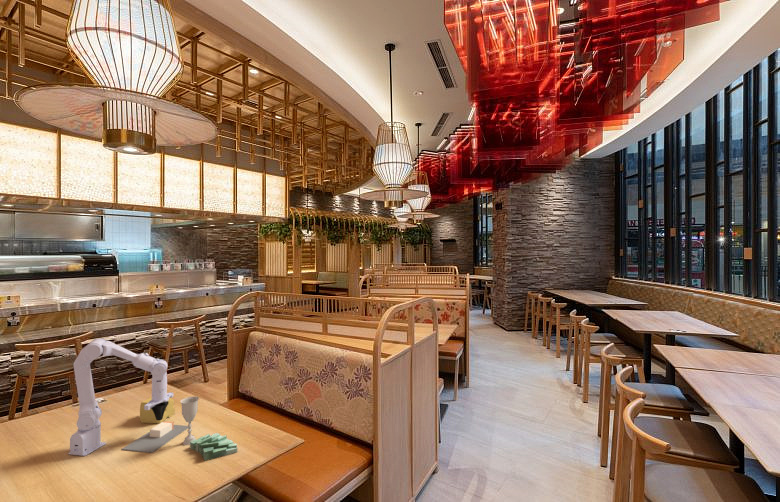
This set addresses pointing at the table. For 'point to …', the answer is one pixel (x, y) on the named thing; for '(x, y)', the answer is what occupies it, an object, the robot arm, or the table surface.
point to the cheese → (149, 415)
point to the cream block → (161, 429)
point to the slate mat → (154, 440)
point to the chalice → (189, 415)
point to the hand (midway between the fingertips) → (159, 419)
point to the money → (213, 446)
